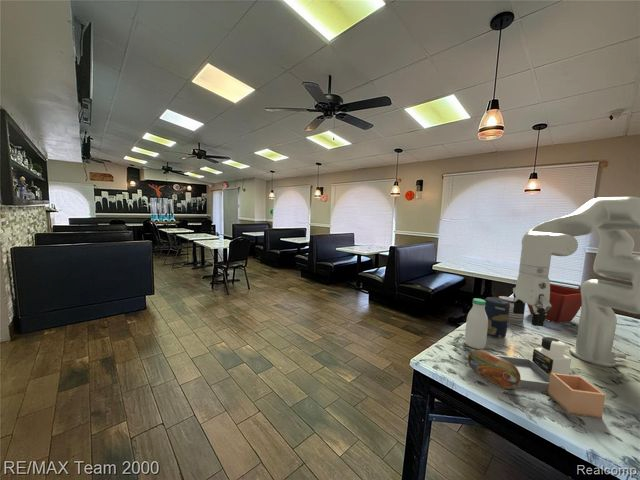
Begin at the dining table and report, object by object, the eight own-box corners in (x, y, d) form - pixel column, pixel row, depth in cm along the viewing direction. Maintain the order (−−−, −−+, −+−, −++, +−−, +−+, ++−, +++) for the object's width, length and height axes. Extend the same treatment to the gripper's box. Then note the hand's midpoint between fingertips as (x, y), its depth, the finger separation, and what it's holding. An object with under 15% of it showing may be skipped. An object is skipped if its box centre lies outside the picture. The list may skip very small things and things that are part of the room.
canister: (501, 332, 118) (505, 295, 116) (509, 341, 109) (514, 302, 107) (478, 328, 121) (482, 293, 119) (484, 337, 112) (488, 299, 110)
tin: (466, 368, 89) (468, 346, 88) (470, 365, 90) (473, 344, 90) (516, 395, 76) (519, 369, 75) (520, 391, 78) (523, 366, 77)
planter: (577, 397, 76) (580, 376, 75) (601, 418, 68) (605, 395, 67) (547, 393, 77) (550, 372, 76) (568, 413, 69) (572, 390, 69)
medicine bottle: (530, 365, 92) (535, 335, 90) (548, 365, 92) (552, 334, 91) (550, 378, 85) (555, 345, 83) (569, 377, 85) (574, 345, 84)
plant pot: (519, 312, 143) (523, 284, 142) (541, 309, 149) (545, 282, 147) (559, 327, 125) (564, 295, 123) (583, 323, 131) (587, 292, 129)
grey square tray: (529, 365, 92) (530, 358, 92) (559, 392, 78) (560, 384, 78) (487, 360, 94) (488, 354, 94) (509, 385, 80) (510, 378, 80)
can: (492, 317, 135) (494, 296, 134) (504, 314, 140) (506, 293, 139) (515, 326, 125) (518, 303, 124) (527, 322, 130) (530, 300, 129)
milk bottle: (488, 350, 101) (494, 304, 99) (468, 348, 102) (473, 302, 100) (480, 341, 108) (485, 297, 106) (461, 339, 110) (465, 295, 108)
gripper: (567, 277, 73) (559, 332, 75) (529, 265, 90) (523, 310, 92) (539, 275, 74) (531, 329, 76) (506, 264, 91) (501, 308, 93)
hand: (527, 319), depth 84 cm, fingers open, 9 cm apart
